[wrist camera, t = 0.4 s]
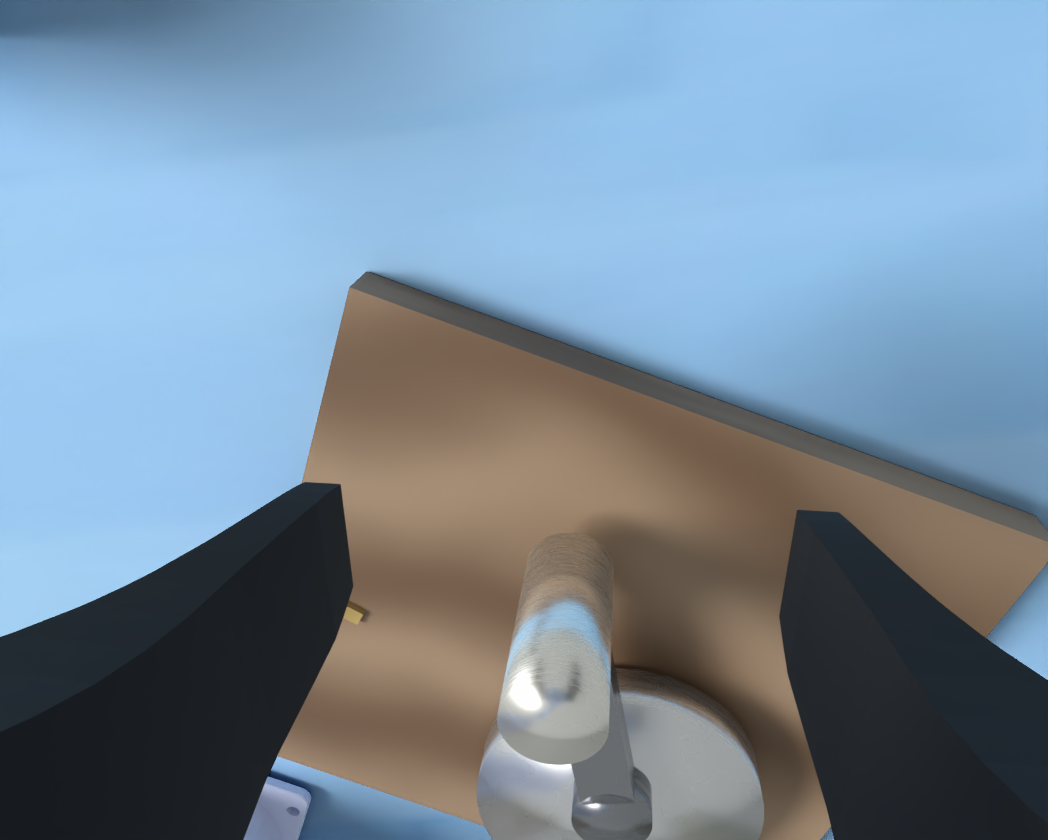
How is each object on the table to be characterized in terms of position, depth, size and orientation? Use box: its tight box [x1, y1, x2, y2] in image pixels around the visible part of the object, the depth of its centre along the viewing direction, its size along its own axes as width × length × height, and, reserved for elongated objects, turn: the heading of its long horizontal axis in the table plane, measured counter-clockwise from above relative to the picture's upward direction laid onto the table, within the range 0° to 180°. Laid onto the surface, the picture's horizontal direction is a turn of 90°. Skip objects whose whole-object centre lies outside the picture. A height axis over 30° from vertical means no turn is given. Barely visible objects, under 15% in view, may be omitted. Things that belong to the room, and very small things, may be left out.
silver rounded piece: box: [477, 533, 764, 840], centre depth 22 cm, size 15×9×6 cm, turn 11°
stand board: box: [277, 272, 1048, 840], centre depth 26 cm, size 18×20×2 cm
